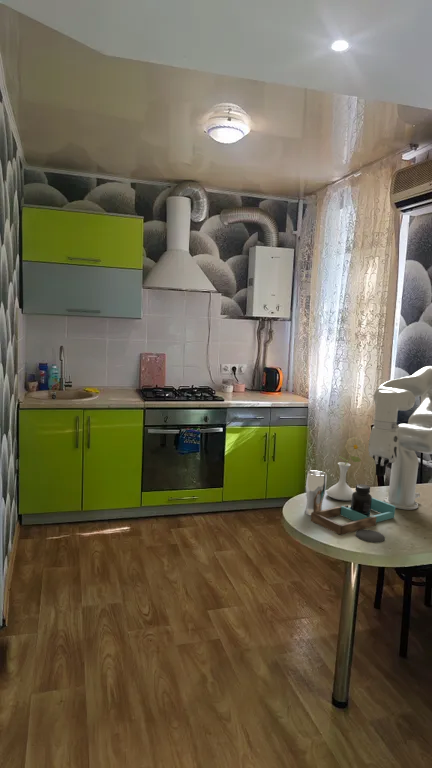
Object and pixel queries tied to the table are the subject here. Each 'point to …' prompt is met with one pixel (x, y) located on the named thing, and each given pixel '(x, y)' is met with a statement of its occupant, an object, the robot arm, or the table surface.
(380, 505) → the teal drawer
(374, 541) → the coaster
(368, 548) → the table surface
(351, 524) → the walnut cubby
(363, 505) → the supplement bottle
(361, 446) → the flower in vase
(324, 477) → the beer glass
